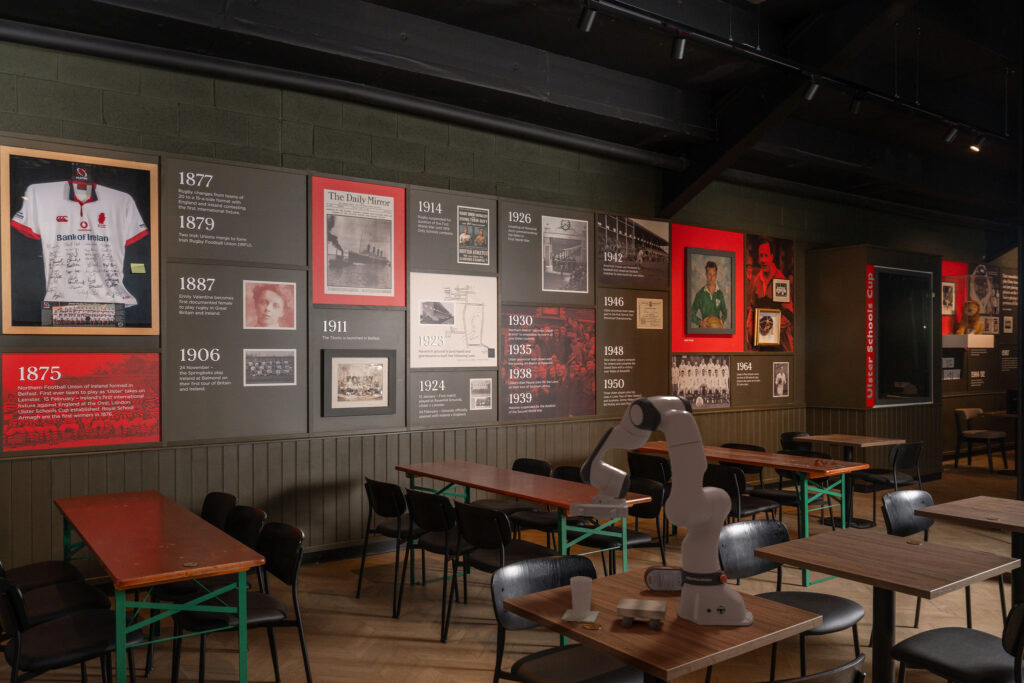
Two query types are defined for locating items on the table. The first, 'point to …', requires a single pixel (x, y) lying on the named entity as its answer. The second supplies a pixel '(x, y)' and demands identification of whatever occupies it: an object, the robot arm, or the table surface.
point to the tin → (663, 578)
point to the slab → (642, 611)
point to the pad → (591, 618)
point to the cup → (581, 596)
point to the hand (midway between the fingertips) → (595, 513)
